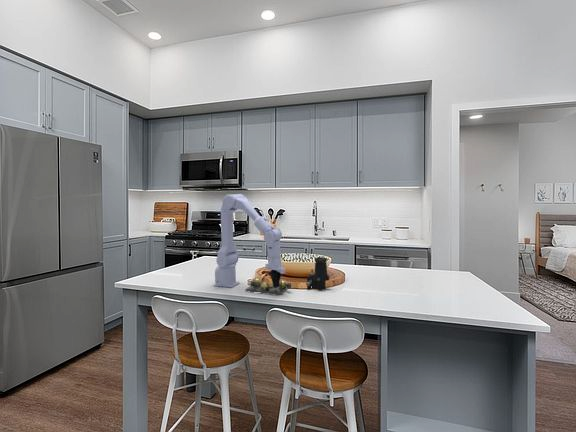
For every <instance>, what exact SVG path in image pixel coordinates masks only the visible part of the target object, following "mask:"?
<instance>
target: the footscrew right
mask: <svg viewBox="0 0 576 432" xmlns="http://www.w3.org/2000/svg"><path fill="white" fill-rule="evenodd" d="M269 287H274V286H273V282H272V283H271V282H269V281H261V289H263V290H267V289H269ZM274 288H277V287H274Z"/></svg>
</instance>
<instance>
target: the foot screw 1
mask: <svg viewBox="0 0 576 432" xmlns="http://www.w3.org/2000/svg"><path fill="white" fill-rule="evenodd" d="M261 283H262V278H260V277H253V279H252V281H251V280H250V286H255V285H260V284H261Z"/></svg>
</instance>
